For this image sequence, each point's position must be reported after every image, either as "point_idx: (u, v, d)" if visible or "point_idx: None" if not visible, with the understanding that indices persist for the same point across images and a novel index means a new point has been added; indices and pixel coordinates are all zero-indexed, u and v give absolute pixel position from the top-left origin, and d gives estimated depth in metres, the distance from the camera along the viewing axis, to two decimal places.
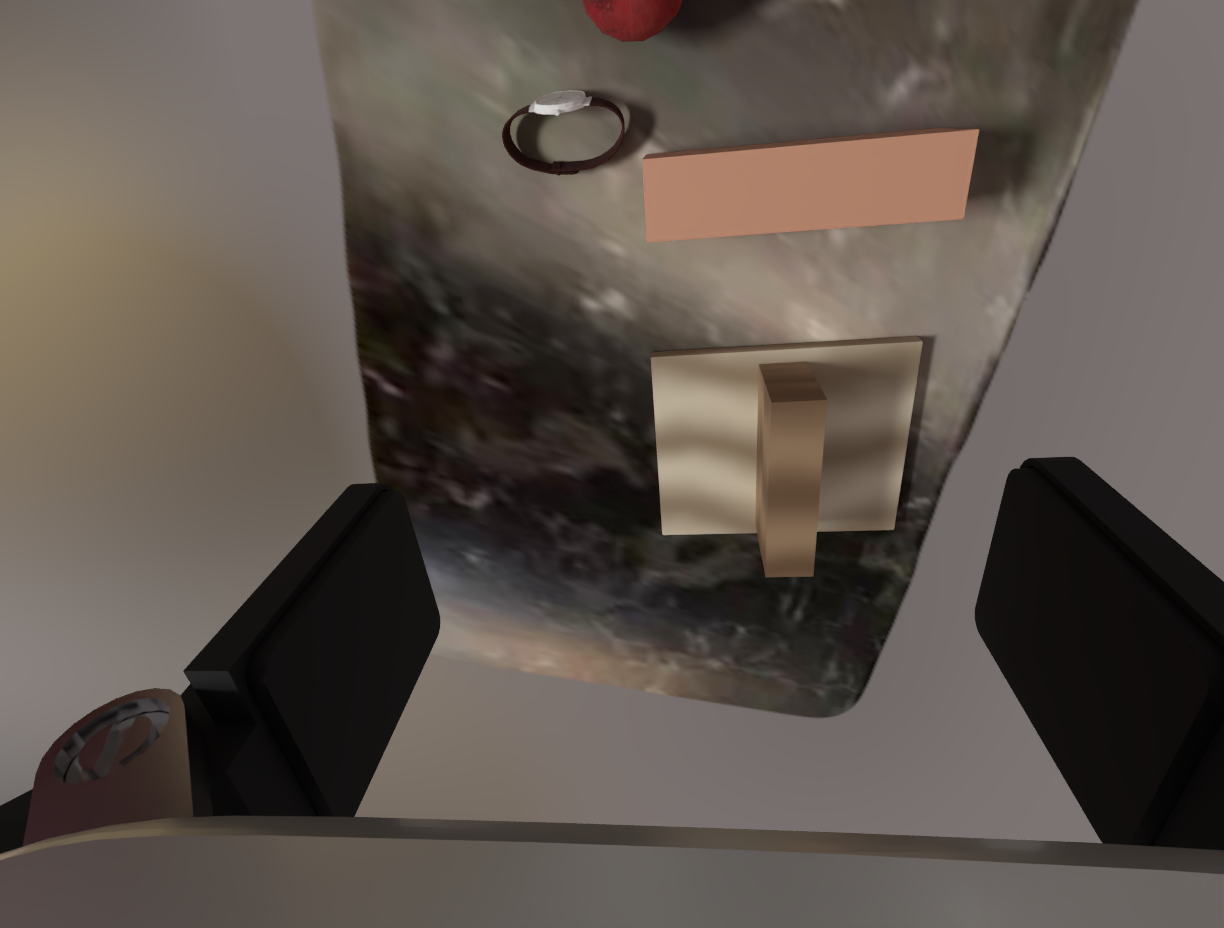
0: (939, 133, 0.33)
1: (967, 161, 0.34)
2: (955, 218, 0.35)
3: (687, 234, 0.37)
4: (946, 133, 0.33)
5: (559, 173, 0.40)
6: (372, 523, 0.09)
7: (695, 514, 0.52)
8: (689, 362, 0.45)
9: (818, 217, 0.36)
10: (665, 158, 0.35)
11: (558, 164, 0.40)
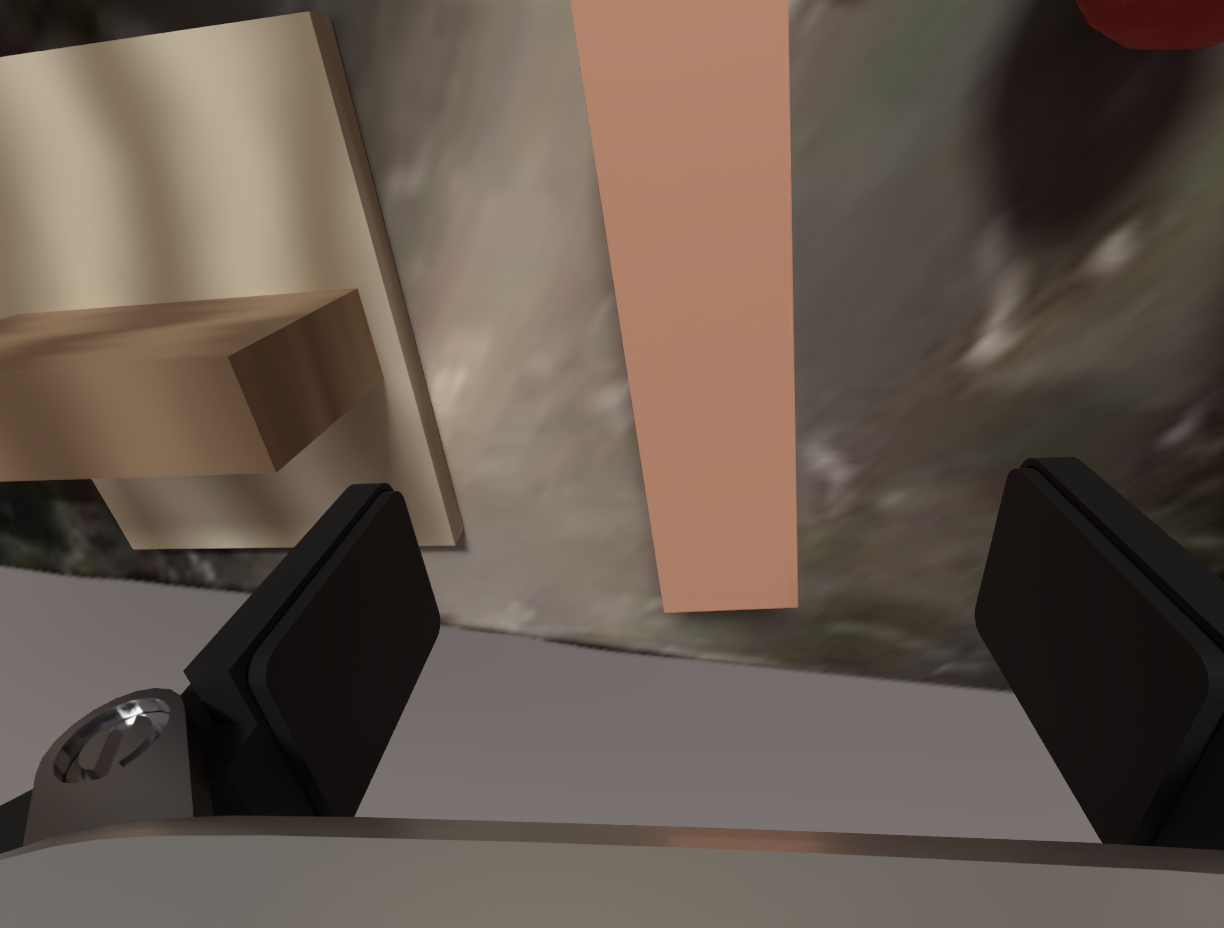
0: (795, 559, 0.20)
1: (751, 602, 0.21)
2: (664, 603, 0.21)
3: (597, 97, 0.14)
4: (795, 568, 0.20)
5: None
6: (372, 523, 0.09)
7: None
8: (322, 124, 0.19)
9: (655, 400, 0.18)
10: None
11: None
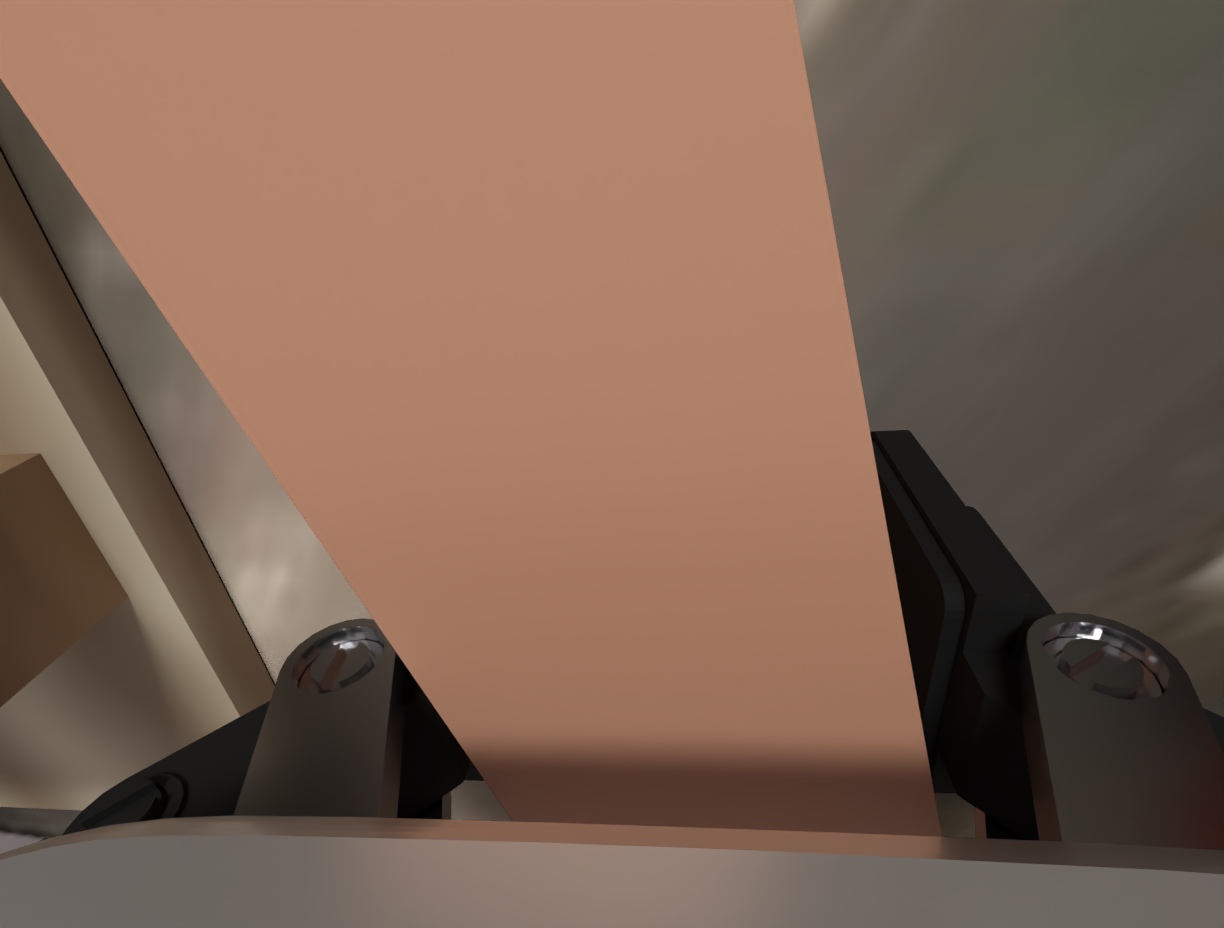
0: None
1: None
2: None
3: (124, 197, 0.04)
4: None
5: None
6: None
7: None
8: None
9: None
10: None
11: None
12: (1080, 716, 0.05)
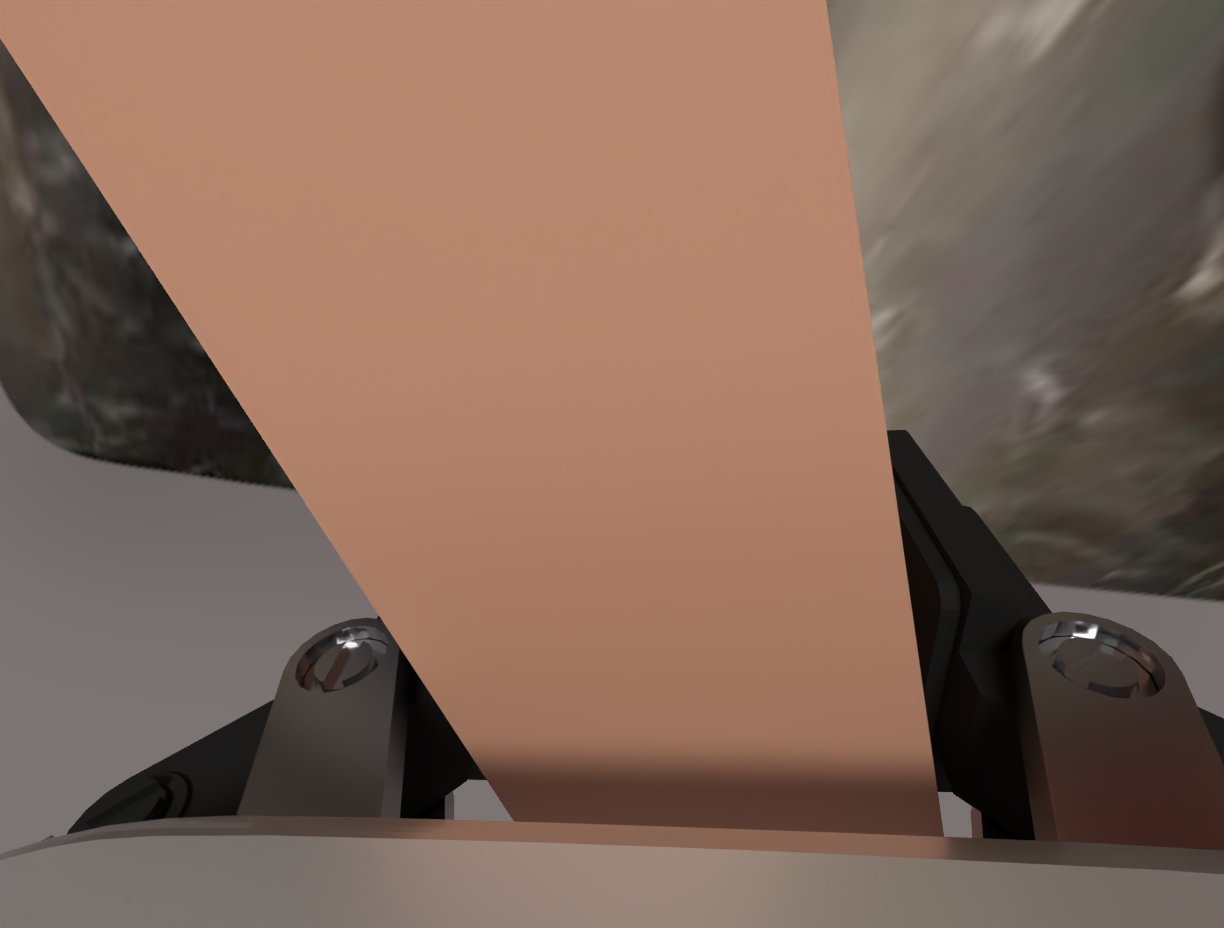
0: None
1: None
2: None
3: (140, 186, 0.04)
4: None
5: None
6: None
7: None
8: None
9: None
10: None
11: None
12: (1075, 715, 0.05)
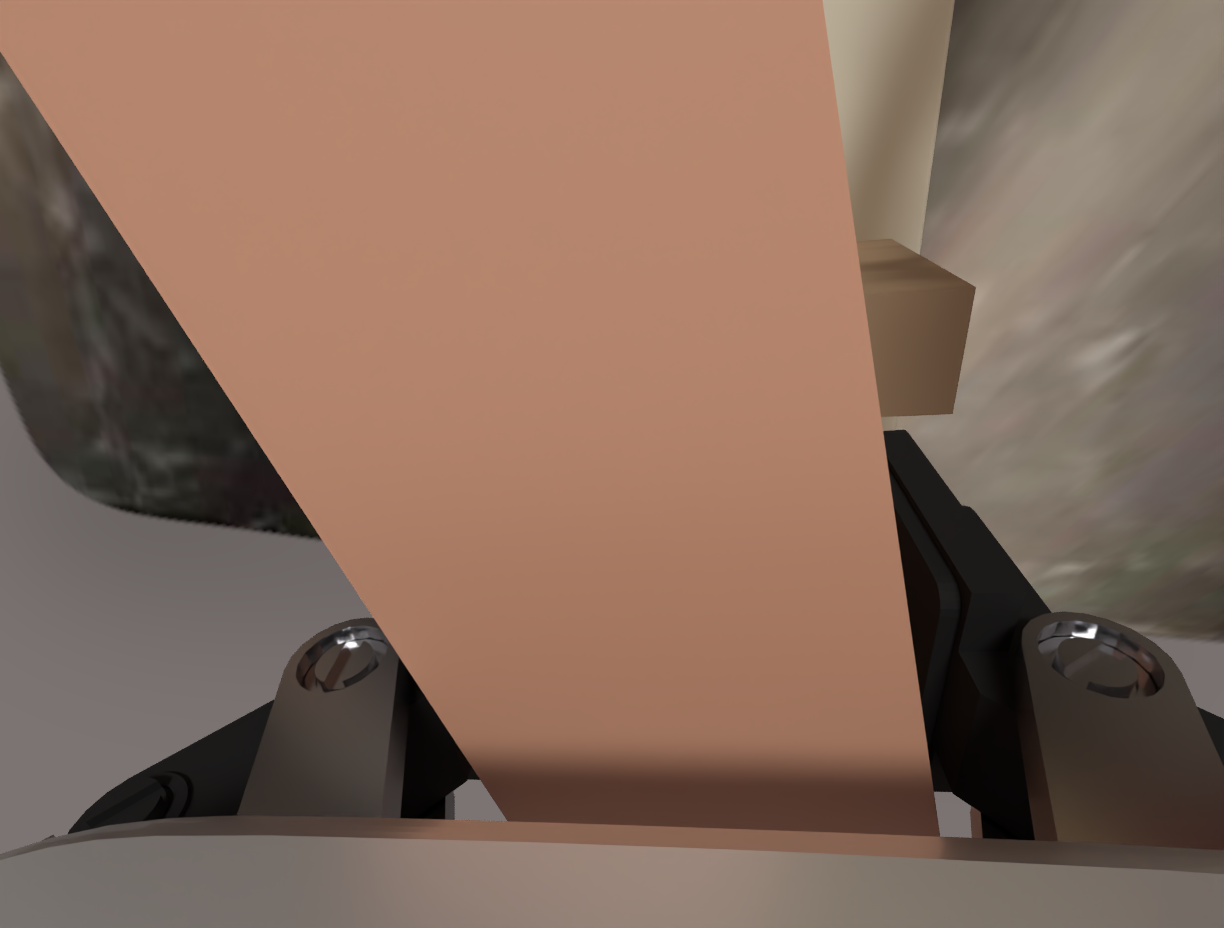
0: None
1: None
2: None
3: (131, 185, 0.04)
4: None
5: None
6: None
7: None
8: (926, 65, 0.19)
9: None
10: None
11: None
12: (1075, 715, 0.05)
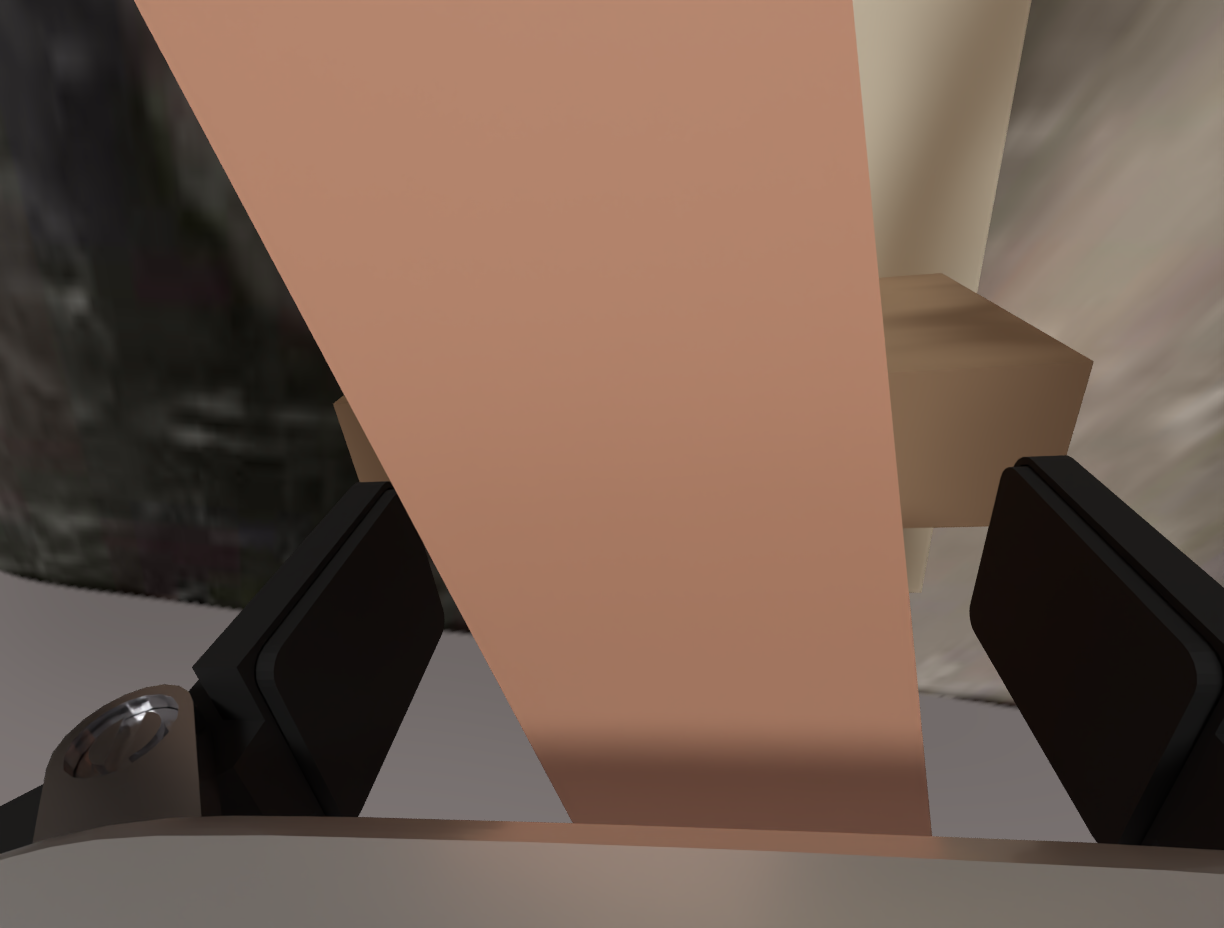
0: None
1: None
2: None
3: (251, 151, 0.05)
4: None
5: None
6: (377, 521, 0.09)
7: None
8: (996, 50, 0.14)
9: (604, 782, 0.08)
10: None
11: None
12: None
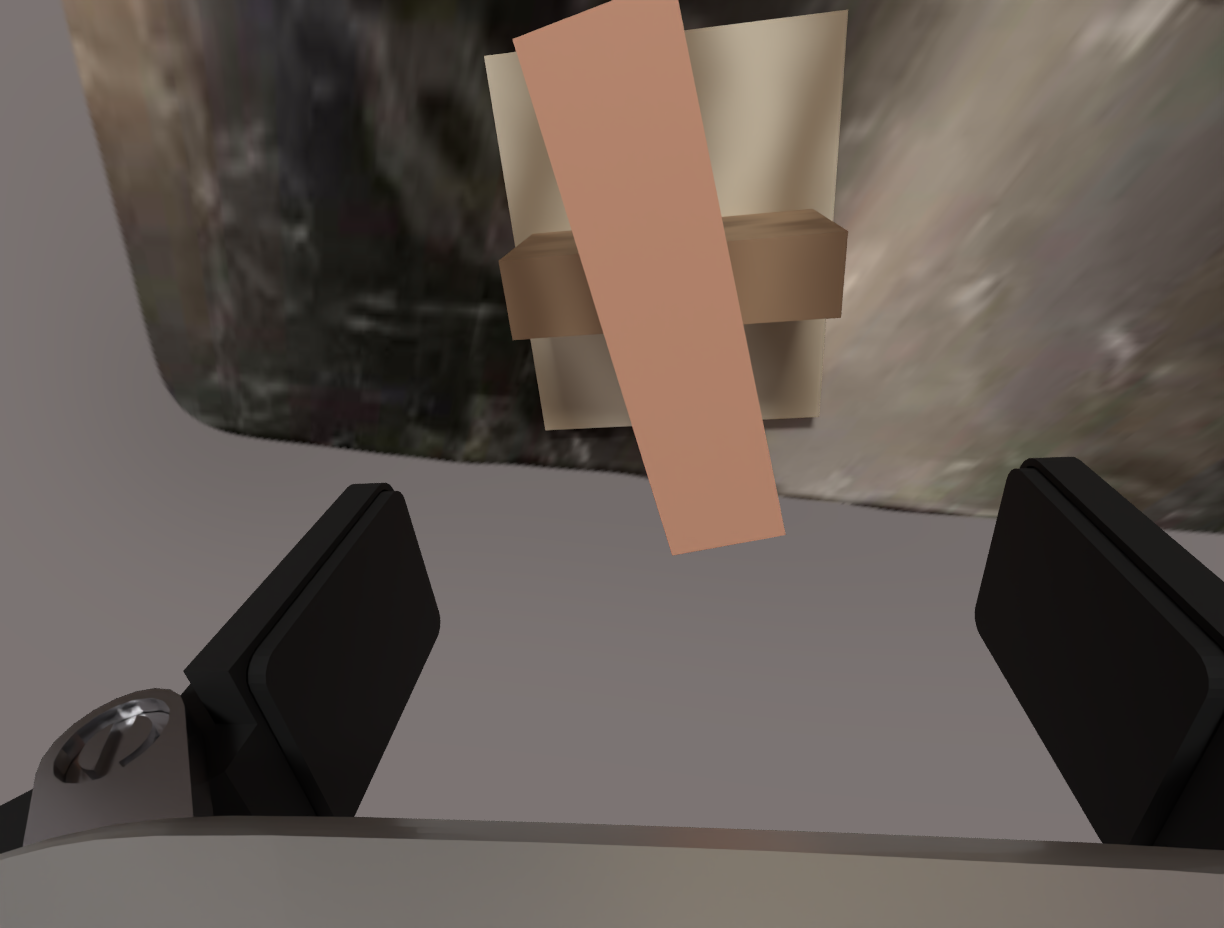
0: (775, 491, 0.23)
1: (744, 535, 0.24)
2: (671, 546, 0.25)
3: (551, 133, 0.18)
4: (776, 500, 0.23)
5: None
6: (372, 523, 0.09)
7: (536, 123, 0.29)
8: (829, 88, 0.28)
9: (635, 369, 0.21)
10: (683, 36, 0.16)
11: None
12: None
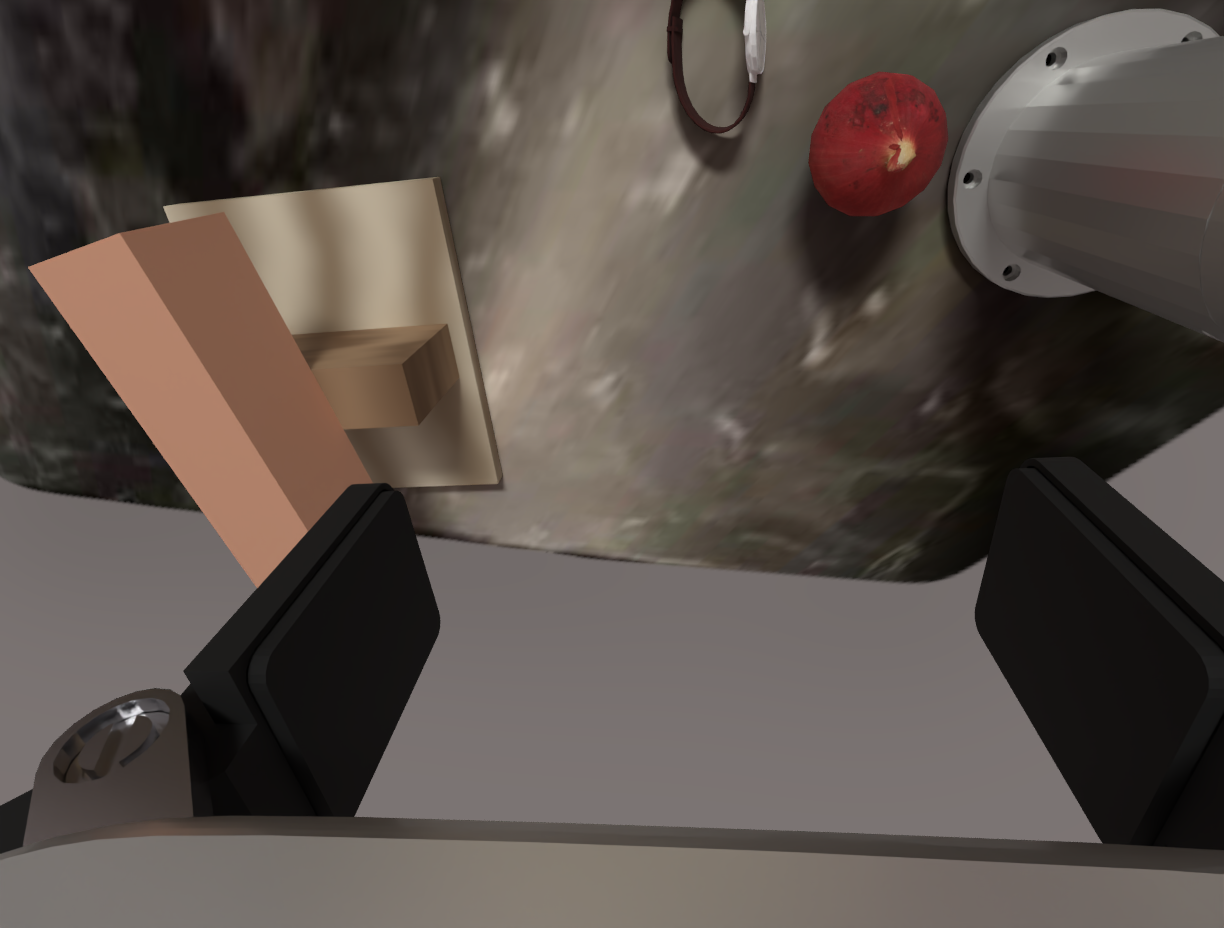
0: None
1: None
2: None
3: (76, 325, 0.25)
4: None
5: (668, 31, 0.29)
6: (372, 523, 0.09)
7: None
8: (434, 234, 0.34)
9: (195, 482, 0.28)
10: (140, 269, 0.23)
11: (679, 28, 0.29)
12: None
